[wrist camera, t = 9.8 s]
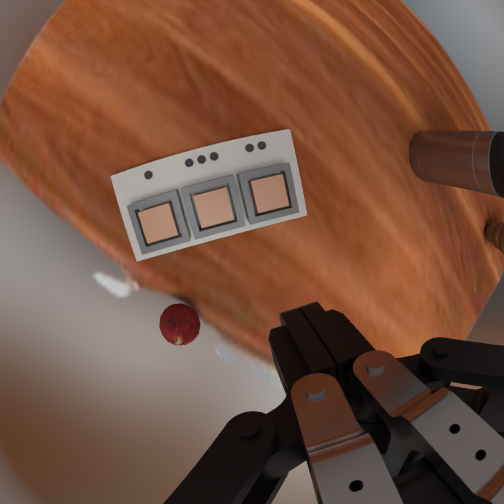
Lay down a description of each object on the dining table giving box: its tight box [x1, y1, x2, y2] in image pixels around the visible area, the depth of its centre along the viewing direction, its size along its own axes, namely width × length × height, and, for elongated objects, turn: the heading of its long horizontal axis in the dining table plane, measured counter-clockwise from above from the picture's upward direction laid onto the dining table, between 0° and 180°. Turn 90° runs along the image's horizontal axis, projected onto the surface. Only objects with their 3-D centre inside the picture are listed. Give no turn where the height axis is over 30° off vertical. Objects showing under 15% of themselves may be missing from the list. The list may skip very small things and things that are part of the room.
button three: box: [193, 186, 234, 228], centre depth 34 cm, size 4×4×2 cm
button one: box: [138, 201, 179, 243], centre depth 33 cm, size 4×4×2 cm
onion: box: [159, 303, 200, 345], centre depth 37 cm, size 6×6×8 cm
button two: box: [248, 174, 289, 213], centre depth 34 cm, size 4×4×2 cm
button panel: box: [111, 129, 307, 261], centre depth 35 cm, size 24×12×4 cm, turn 102°
